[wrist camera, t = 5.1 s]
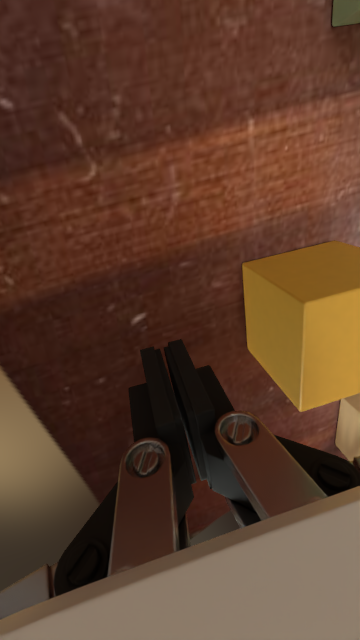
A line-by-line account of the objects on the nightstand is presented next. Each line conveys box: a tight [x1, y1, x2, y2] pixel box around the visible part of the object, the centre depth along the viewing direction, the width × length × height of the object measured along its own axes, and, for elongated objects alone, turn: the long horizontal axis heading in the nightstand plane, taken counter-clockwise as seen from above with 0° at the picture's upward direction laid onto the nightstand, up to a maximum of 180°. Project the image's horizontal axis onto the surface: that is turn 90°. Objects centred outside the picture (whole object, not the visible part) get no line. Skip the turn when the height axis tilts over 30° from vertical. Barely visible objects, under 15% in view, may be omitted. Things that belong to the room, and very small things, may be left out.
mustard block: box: [242, 241, 360, 412], centre depth 13 cm, size 5×5×5 cm
